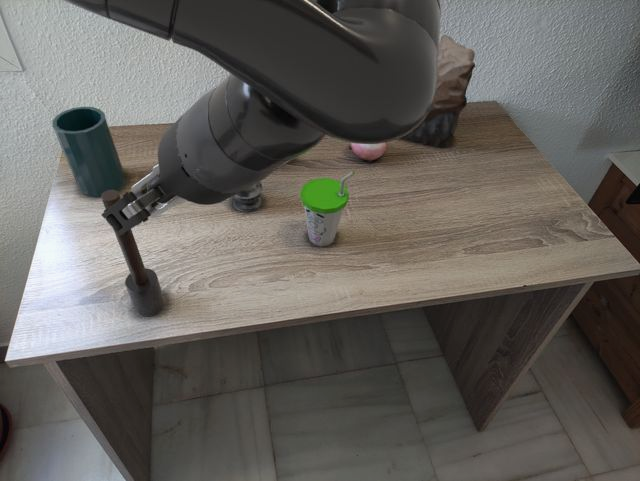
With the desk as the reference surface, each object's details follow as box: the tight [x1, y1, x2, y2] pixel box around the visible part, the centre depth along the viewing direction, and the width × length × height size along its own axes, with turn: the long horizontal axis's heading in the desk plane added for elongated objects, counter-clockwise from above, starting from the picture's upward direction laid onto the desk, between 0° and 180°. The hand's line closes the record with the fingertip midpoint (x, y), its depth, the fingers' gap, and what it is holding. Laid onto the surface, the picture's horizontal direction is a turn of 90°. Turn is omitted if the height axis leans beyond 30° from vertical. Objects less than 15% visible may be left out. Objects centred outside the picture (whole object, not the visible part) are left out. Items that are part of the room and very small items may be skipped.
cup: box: [299, 170, 355, 248], centre depth 77 cm, size 8×8×15 cm
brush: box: [100, 190, 166, 317], centre depth 63 cm, size 4×4×22 cm
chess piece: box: [233, 181, 264, 213], centre depth 84 cm, size 6×6×12 cm
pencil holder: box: [51, 106, 126, 198], centre depth 85 cm, size 8×8×14 cm
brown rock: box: [399, 34, 476, 148], centre depth 100 cm, size 13×13×20 cm
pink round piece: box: [347, 142, 388, 163], centre depth 98 cm, size 8×8×7 cm
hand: (153, 197), depth 49 cm, fingers open, 8 cm apart
